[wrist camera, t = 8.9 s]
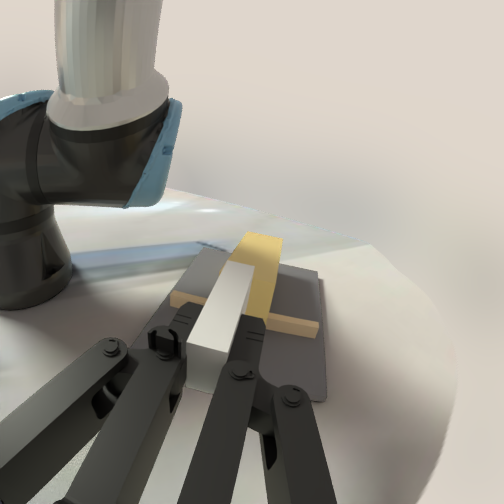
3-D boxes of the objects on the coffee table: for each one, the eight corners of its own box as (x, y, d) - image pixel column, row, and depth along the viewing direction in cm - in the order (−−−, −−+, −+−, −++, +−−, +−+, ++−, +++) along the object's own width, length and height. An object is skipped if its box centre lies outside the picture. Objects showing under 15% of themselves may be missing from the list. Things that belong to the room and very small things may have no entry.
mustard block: (275, 283, 25) (282, 238, 40) (219, 271, 26) (247, 231, 41) (264, 331, 27) (275, 272, 42) (212, 319, 27) (241, 264, 42)
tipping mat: (323, 402, 23) (332, 386, 22) (130, 355, 24) (127, 337, 23) (316, 276, 44) (319, 262, 44) (203, 251, 46) (204, 238, 45)
